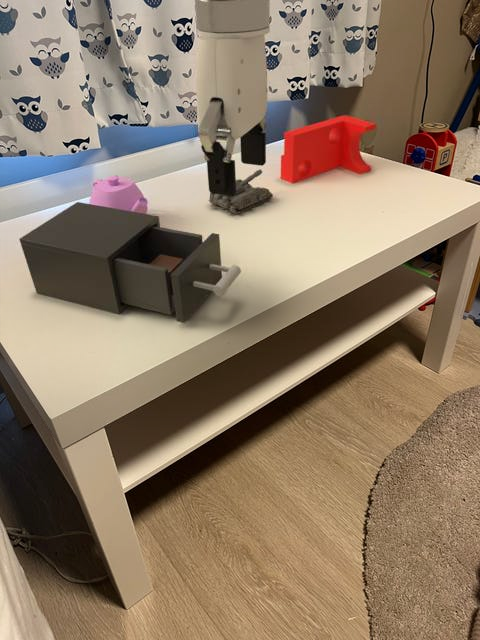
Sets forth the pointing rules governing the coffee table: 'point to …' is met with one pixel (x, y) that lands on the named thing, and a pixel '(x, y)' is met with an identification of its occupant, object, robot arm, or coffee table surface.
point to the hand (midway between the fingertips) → (238, 177)
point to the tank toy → (242, 196)
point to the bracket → (324, 148)
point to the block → (168, 265)
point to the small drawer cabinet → (83, 253)
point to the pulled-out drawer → (187, 280)
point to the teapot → (118, 195)
